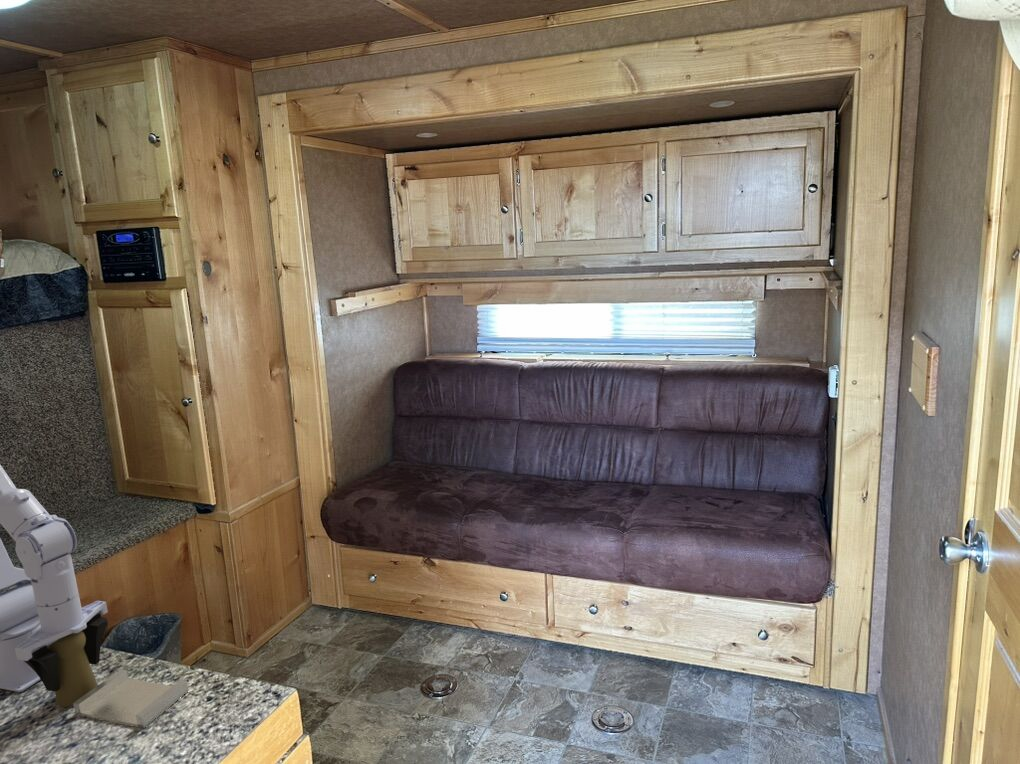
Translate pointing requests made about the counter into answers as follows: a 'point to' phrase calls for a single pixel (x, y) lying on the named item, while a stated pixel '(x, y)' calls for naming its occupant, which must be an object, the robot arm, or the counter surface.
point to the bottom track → (129, 700)
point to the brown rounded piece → (72, 669)
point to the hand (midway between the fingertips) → (73, 675)
